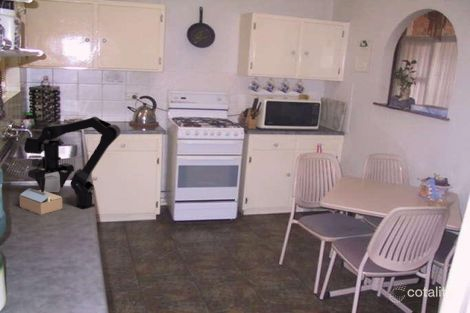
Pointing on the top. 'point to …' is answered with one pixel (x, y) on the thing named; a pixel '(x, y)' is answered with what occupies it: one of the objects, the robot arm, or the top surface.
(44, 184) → the robot arm
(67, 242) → the top surface
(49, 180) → the supplement box
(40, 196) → the flap
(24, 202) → the carton
